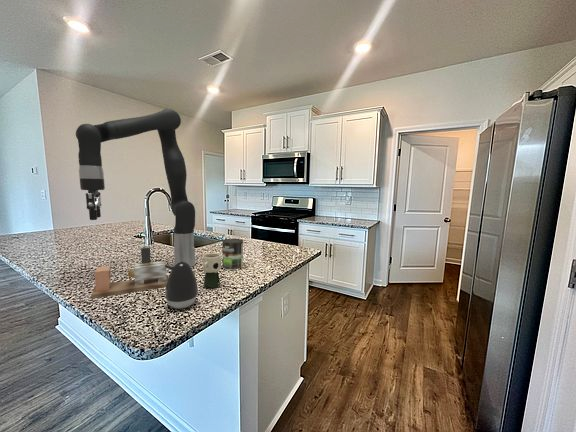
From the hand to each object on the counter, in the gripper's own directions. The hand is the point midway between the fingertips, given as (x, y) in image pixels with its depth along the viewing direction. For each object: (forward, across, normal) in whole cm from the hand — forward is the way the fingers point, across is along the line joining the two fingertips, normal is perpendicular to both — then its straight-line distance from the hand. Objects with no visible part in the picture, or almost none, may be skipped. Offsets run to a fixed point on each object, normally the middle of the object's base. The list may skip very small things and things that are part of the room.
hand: (95, 218), depth 98 cm
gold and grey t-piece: (+22, -12, -17) cm, 31 cm away
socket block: (+25, -13, -2) cm, 28 cm away
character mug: (+28, -24, -40) cm, 54 cm away
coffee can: (+28, -5, -54) cm, 61 cm away
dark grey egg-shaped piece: (+27, -36, -27) cm, 53 cm away
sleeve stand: (+27, -12, -12) cm, 32 cm away
